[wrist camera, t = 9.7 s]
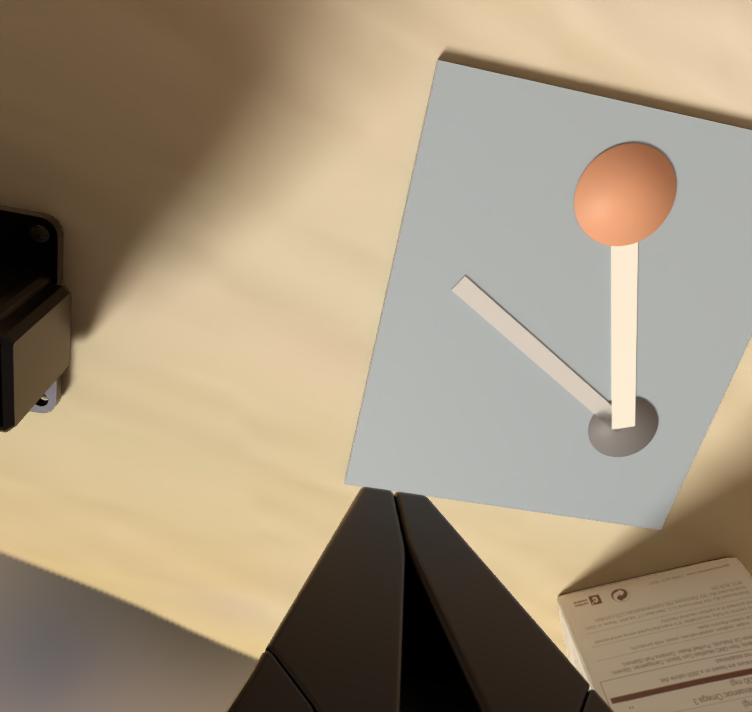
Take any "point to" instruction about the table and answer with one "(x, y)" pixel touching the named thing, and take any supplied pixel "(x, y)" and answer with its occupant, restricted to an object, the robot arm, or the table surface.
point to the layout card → (558, 302)
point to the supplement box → (666, 639)
